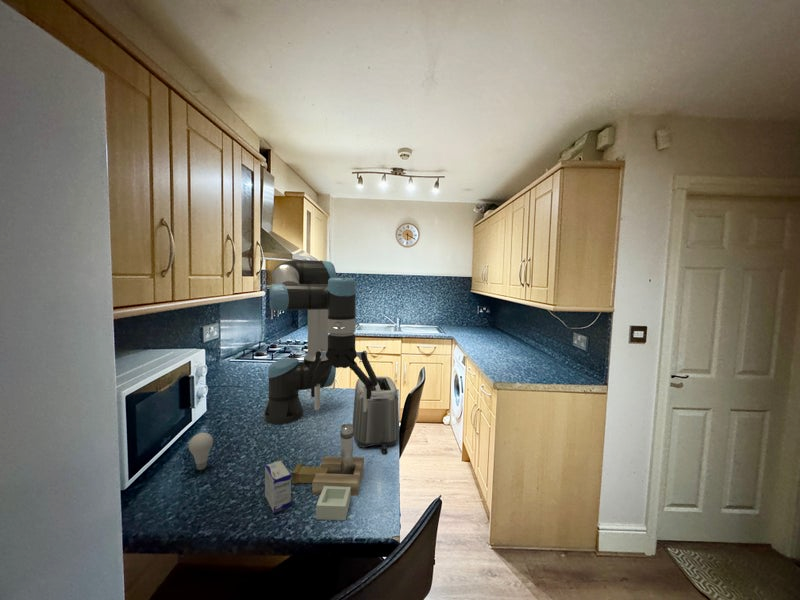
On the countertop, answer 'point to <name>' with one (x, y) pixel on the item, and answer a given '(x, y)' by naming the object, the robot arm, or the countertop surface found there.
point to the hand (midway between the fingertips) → (341, 409)
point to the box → (278, 486)
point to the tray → (333, 503)
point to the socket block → (338, 475)
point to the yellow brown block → (306, 473)
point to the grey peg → (347, 448)
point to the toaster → (377, 415)
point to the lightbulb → (201, 449)
